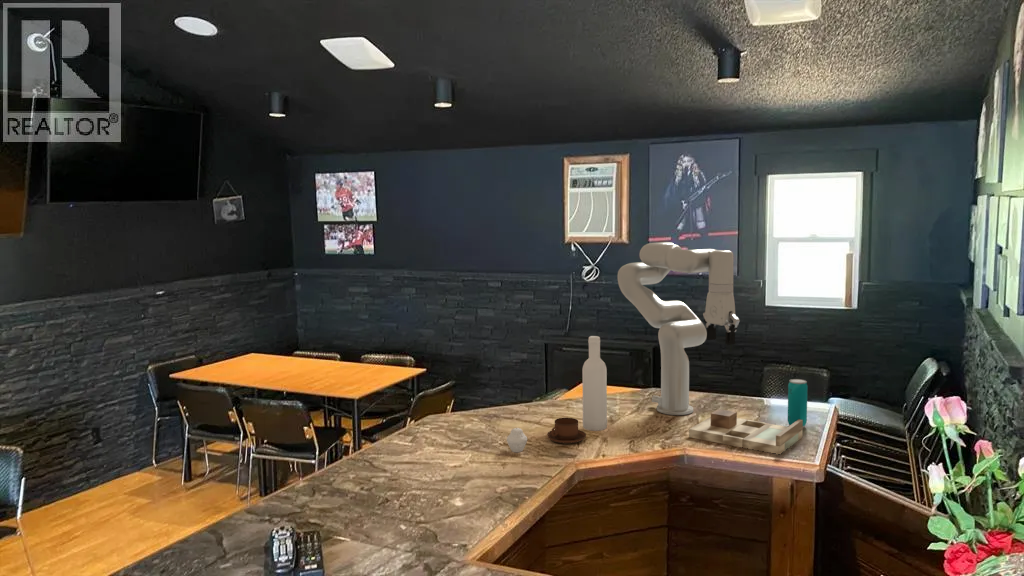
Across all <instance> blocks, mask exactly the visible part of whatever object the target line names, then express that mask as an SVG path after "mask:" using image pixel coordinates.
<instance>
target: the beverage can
mask: <svg viewBox="0 0 1024 576" xmlns="http://www.w3.org/2000/svg"><path fill="white" fill-rule="evenodd" d="M807 383H808V381H807V380H806V379H800V378H793V379H789V382H788V385H787V389H788V390H787V423H788V427H789V426H790V425H791V424H793V423H794V422H796V421H797V420H798V419H800V420H803V429H804V428H805V427H806V424H807V421H808V420H807V419H808V390H809V389H808V387H809V386H808V384H807Z"/></svg>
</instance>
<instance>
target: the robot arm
mask: <svg viewBox="0 0 1024 576" xmlns="http://www.w3.org/2000/svg"><path fill="white" fill-rule="evenodd" d="M639 259H640V260H641V261H640V262H629V263H627V264H624V265H622V266H621V267H620V268H619V269H618V271H617V284H618V287H619V289H620V292H621V294H622V295H623V296H624V297H625V298H626V299H627V300H628V301H629V302H630V303H631V304H632V305H633V306H634V307H635V308H636V309H637V311H638V312H639V313H640V314H641V315H642V317H643V318H644V319H645V321H646V322H648V324H649V325H650V326H651V327H653V328H655V329H659V330H658V332H657V335H658V336H657V337H658V343H659V349H660V367H661V369H660V396H659V395H654V394H653V395H652V397H651V402H652V403H657V405H656V411H657V412H659V413H660V414H664V415H670V416H685V415H689V414H692V413H694V407H693V406H692V405H690V404H689V403H690V361H689V356H688V355H687V353H686V351H685V348H692V347H693V348H694V347H698V346H700V345H703V343H705V342H706V340H707V341H712V340H717V327H716V326H724V328H725V330H726V332H725V337H724V338H725V340H724V341H725V345H727V346H729V345H730V346H731V345H735V344H736V332H737V329H738V328H739V323H740V321H741V320H740V318H739V317H738V316H737V315H736V305H735V302H736V301H735V297H734V296H735V295H734V253H733V251H731V250H727V249H726V250H725V249H724V250H723V249H715V248H702V249H701V248H700V249H699V248H698V249H695V248H694V249H682V247H681V246H679V245H678V244H674V243H673V242H671V241H670V242H669V241H663V242H662V241H661V242H649V243H646V244H644V245H643V246H642V247H641V249H640V250H639ZM671 271H673V272H676V273H677V272H679V273H686V274H693V273H694V274H695V273H706V272H707V273H708V292H707V296H706V301H705V311H704V312H703V313H702V315H703V319H704V322H703V321H702V320H701V319H700V318H699V317H698V316H697V315H696V314H695V313H694V311H693V310H692V309H690V307H689V306H688V305H687V304H686V303H684V302H683V301H681V300H677V299H675V300H662V299H661V298H659V296H658V295H657V294H656V293H655V292H654V291H653V290H652V289H650V288H648V287H647V285H656V284H659V283H660V282H662V281H663V279H664V278H666V276H667V275H668V274H669V273H670V272H671Z"/></svg>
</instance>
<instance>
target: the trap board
mask: <svg viewBox="0 0 1024 576" xmlns="http://www.w3.org/2000/svg"><path fill="white" fill-rule="evenodd" d="M803 429H804V428H803V420H800V419H798V420H797V421H796V422H794V423H793V424H791V425H790V426H789V425H788V426H785V425H779V424H772V423H768V422H763V421H756V420H751V419H747V418H740V417H737V425H735V426H733V427H732V428H730V429H726V428H720V427H715V426H711V416H709V417H708V418H706V419H704V420H703V421H701V422H700V423H697V424H695V425H693V426H691V427H690V428H688V438H693V439H696V440H702V441H707V442H712V443H717V444H722V445H728V446H731V447H732V446H733V447H737V448H742V447H743V448H742V449H747V448H748V450H752V449H754V450H753V451H757V450H759V452H762V451H764V452H763V453H767V452H771V453H770V454H772V453H776V454H775V455H778V454H780V455H781V453H782V452H783V451H784V452H786V451H787V450H788V449H789V448H791V447H793V445H794V444H796V443H797V442H798V441H800V440H801V439H802V438H803ZM790 446H791V447H790ZM787 448H788V449H787ZM786 449H787V450H786ZM784 452H783V453H784ZM783 453H782V454H783Z"/></svg>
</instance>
